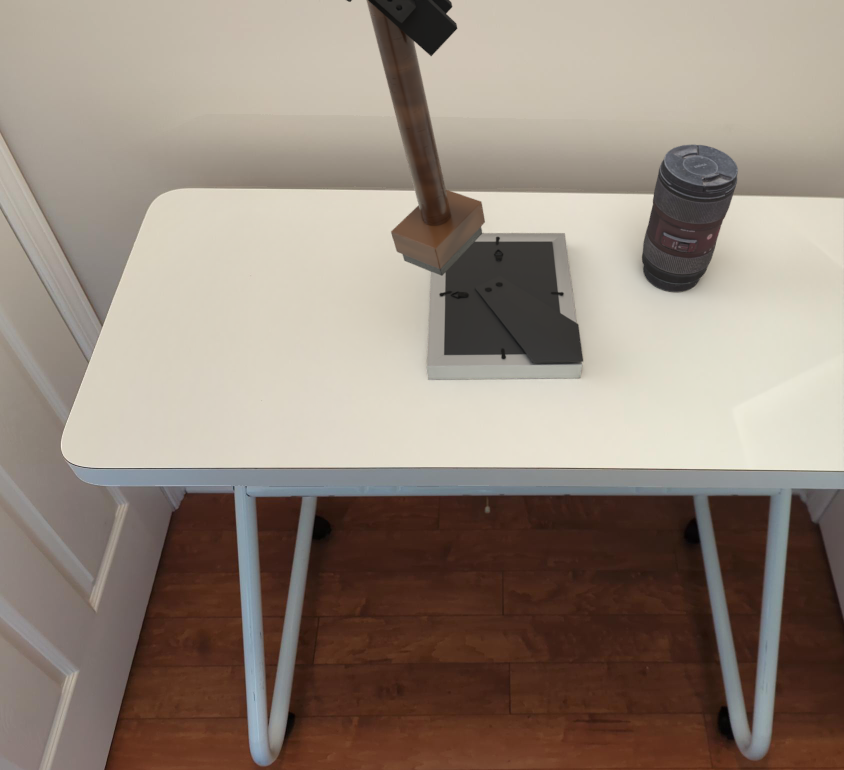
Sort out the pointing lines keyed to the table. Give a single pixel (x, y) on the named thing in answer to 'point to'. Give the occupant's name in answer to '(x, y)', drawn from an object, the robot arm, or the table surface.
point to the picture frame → (505, 311)
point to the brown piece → (423, 163)
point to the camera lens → (687, 215)
